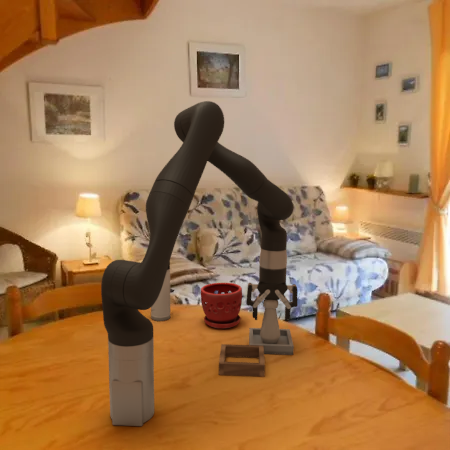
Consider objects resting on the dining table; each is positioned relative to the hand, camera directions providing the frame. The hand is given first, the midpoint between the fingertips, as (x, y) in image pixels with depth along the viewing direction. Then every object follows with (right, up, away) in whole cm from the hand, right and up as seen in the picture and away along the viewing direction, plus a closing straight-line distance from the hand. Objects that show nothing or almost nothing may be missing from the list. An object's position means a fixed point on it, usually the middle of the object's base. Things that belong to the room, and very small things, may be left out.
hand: (271, 319), depth 135 cm
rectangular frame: (-9, -10, -11) cm, 17 cm away
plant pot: (-14, -5, +17) cm, 23 cm away
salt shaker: (0, -7, +1) cm, 7 cm away
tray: (0, -7, +1) cm, 8 cm away
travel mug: (-34, -4, +21) cm, 40 cm away
